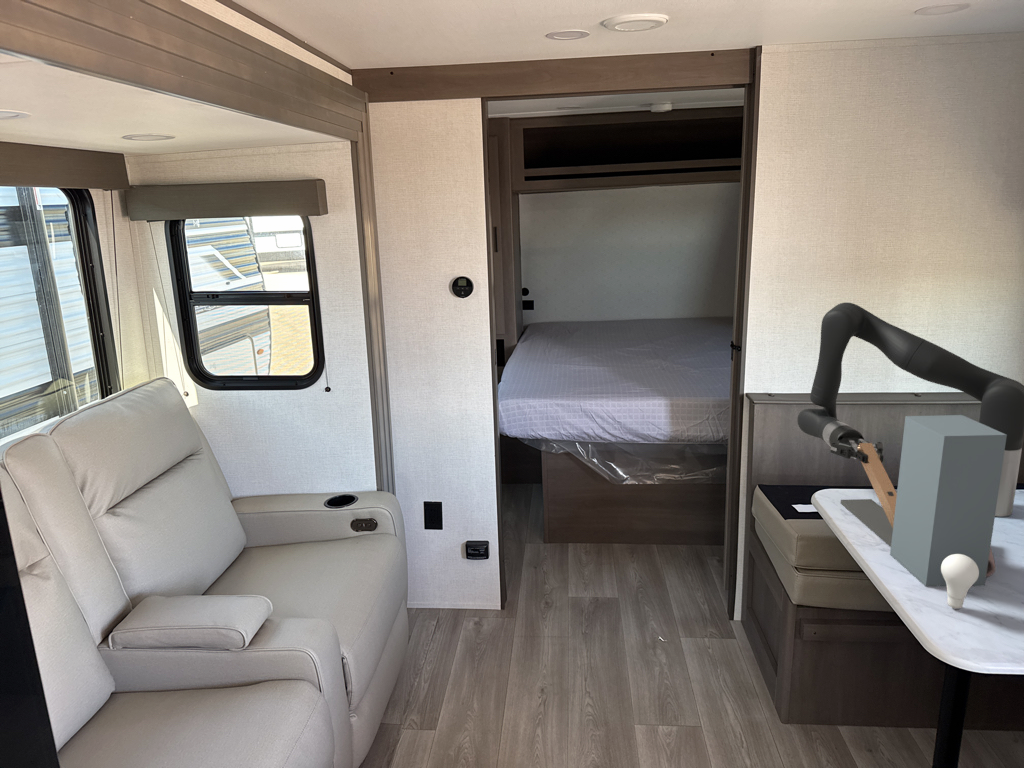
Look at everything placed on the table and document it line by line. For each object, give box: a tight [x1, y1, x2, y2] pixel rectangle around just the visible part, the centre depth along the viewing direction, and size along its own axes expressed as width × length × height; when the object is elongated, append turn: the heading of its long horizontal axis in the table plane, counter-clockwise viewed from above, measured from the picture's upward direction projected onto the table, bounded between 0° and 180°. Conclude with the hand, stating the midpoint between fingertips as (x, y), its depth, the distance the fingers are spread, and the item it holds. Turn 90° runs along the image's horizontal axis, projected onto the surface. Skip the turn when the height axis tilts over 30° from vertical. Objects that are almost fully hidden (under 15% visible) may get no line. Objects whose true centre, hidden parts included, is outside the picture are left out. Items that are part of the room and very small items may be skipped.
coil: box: [986, 545, 996, 578], centre depth 156 cm, size 5×5×18 cm
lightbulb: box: [941, 554, 979, 610], centre depth 137 cm, size 6×6×11 cm
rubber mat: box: [840, 498, 893, 548], centre depth 175 cm, size 26×8×1 cm, turn 0°
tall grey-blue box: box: [889, 414, 1007, 588], centre depth 149 cm, size 14×12×32 cm
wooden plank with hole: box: [858, 442, 897, 528], centre depth 174 cm, size 24×3×3 cm
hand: (873, 459), depth 178 cm, fingers closed on wooden plank with hole, 3 cm apart
